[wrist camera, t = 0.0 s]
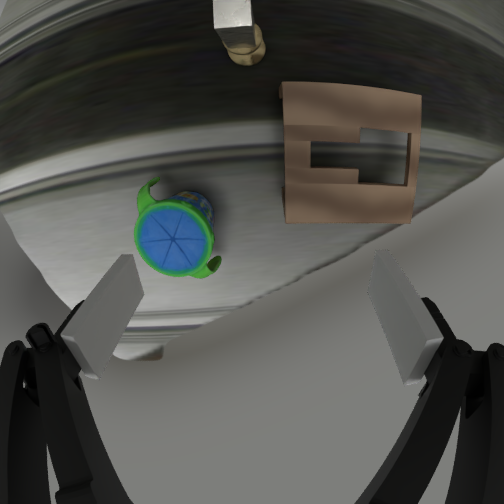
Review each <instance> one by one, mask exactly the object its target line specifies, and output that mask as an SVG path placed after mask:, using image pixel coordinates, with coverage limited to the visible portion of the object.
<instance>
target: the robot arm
mask: <svg viewBox="0 0 504 504" xmlns="http://www.w3.org/2000/svg"><path fill="white" fill-rule="evenodd" d="M368 295H369V297H370V299H371V301H372V304H373V306H374V309H375V311H376V313H377V316H378V318H379V321H380V323H381V325H382V328H383V330H384V333H385V335H386V338H387V340H388V343H389V346H390V348H391V351H392V353H393V356H394V359H395V362H396V364H397V367H398V370H399V373H400V375H401V378H402V381H403V384H404V385H410V384H415V383H419V382H420V380H421V379H422V377H423V375H424V374H425V377H426V379H427V382H426V384H425V385H424V387H423V389H422V390H421V391H420V393H419V399H418V401H417V403H416V405H415V407H414V409H413V411H412V413H411V415H410V417H409V419H408V421H407V423H406V425H405V427H404V429H403V430H402V432H401V434H400V436H399V438H398V439H397V442H396V443H395V445H394V446H393V448H392V450H391V451H390V453H389V455H388V456H387V458H386V460H385V461H384V463H383V465H382V466H381V467H380V469H379V470H378V472H377V473H376V475H375V477H374V478H373V479H372V481H371V482H370V484H369V485H368V486H367V488H366V489H365V490H364V492H363V493H362V495H361V496H360V497H359V499H358V500H357V501H356V502H355V504H418V502H419V500H420V499H421V497H422V495H423V493H424V491H425V490H426V488H427V486H428V484H429V482H430V480H431V478H432V476H433V474H434V472H435V470H436V468H437V466H438V464H439V462H440V459H441V457H442V455H443V452H444V450H445V448H446V446H447V443H448V441H449V438H450V435H451V433H452V430H453V427H454V425H455V422H456V419H457V416H458V413H459V410H460V407H461V412H460V424H459V434H458V441H457V449H456V455H455V461H454V466H453V472H452V477H451V481H450V486H449V490H448V494H447V498H446V501H445V504H504V346H503V345H502V344H499V343H493V344H491V345H490V346H489V347H488V349H487V351H474V350H473V349H472V347H471V346H470V345H469V344H468V343H467V342H465V341H463V340H459V339H456V337H455V335H454V334H453V332H452V330H451V328H450V327H449V325H448V323H447V322H446V320H445V319H444V318H443V315H442V314H441V313H440V311H439V309H438V308H437V306H436V304H435V303H434V302H432V301H431V300H430V299H429V298H427V297H425V298H420V296H419V295H418V293H417V292H416V290H415V289H414V287H413V285H412V284H411V282H410V281H409V279H408V278H407V276H406V275H405V273H404V272H403V270H402V269H401V268H400V266H399V264H398V263H397V262H396V260H395V259H394V257H393V256H392V254H391V253H390V252H389V250H376V251H375V256H374V262H373V267H372V273H371V278H370V283H369V288H368ZM143 296H144V292H143V288H142V285H141V282H140V278H139V275H138V271H137V268H136V264H135V260H134V257H133V254H126V255H121V256H120V257H119V258H118V259H117V261H116V262H115V263H114V264H113V265H112V267H111V268H110V269H109V270H108V272H107V273H106V274H105V275H104V277H103V278H102V279H101V280H100V282H99V283H98V284H97V285H96V287H95V288H94V289H93V290H92V292H91V293H90V294H89V296H88V297H87V298H86V300H82V301H81V302H80V303H78V304H77V305H76V306H75V307H74V308H73V310H72V311H71V313H70V314H69V315H68V316H67V319H66V320H65V321H64V322H63V324H62V325H61V326H60V328H59V329H58V330H57V332H56V333H55V335H53V333H52V331H51V330H50V328H49V326H48V325H47V324H46V323H39V324H36V325H34V326H32V327H31V328H30V329H29V330H28V332H27V333H26V339H27V341H28V342H29V344H30V345H31V347H32V348H26V347H25V345H24V344H23V342H22V341H20V340H17V341H14V342H11V343H10V344H9V345H8V346H7V348H6V349H5V352H4V355H3V358H2V362H1V365H0V504H51V500H50V491H49V481H48V470H47V469H48V468H47V446H48V450H49V454H50V457H51V461H52V464H53V468H54V471H55V475H56V478H57V481H58V484H59V491H57V492H56V493H55V499H56V503H57V504H133V502H132V501H131V500H130V499H129V497H128V496H127V493H126V492H125V490H124V488H123V486H122V484H121V482H120V480H119V478H118V476H117V474H116V472H115V470H114V468H113V466H112V463H111V461H110V459H109V456H108V454H107V452H106V449H105V447H104V445H103V442H102V440H101V438H100V435H99V432H98V429H97V427H96V424H95V421H94V418H93V416H92V413H91V410H90V406H89V404H88V400H87V397H86V394H85V390H84V387H83V384H82V380H81V378H80V376H79V375H78V374H79V372H80V370H81V369H82V371H83V372H84V374H85V375H86V377H89V378H93V379H97V380H100V378H101V376H102V373H103V371H104V370H105V367H106V365H107V363H108V361H109V359H110V357H111V355H112V354H113V352H114V350H115V348H116V346H117V344H118V342H119V340H120V338H121V336H122V334H123V332H124V330H125V329H126V327H127V325H128V323H129V321H130V319H131V317H132V316H133V314H134V312H135V310H136V308H137V307H138V305H139V303H140V301H141V299H142V298H143ZM23 382H24V383H25V388H23Z"/></svg>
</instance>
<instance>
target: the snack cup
mask: <svg viewBox="0 0 504 504" xmlns="http://www.w3.org/2000/svg"><path fill="white" fill-rule="evenodd" d="M159 180H160V177H156V178H153V179H152V180H150V181H149V182H148V183H147V184H146V185H145V186H143V187H142V188H141V189H140V191H139V193H138V197H137V205H138V211H139V217H138V219H137V222H136V224H135V228H134V239H135V244H136V247H137V250H138V252H139V254H140V255H141V257H142V259H143V260H144V261H145V262H146V263H147V264H148V265H149V266H150V267H152V268H153V269H154V270H156V271H158V272H160V273H162V274H165V275H168V276H173V277H184V276H189V275H190V276H192V277H195V278H205V277H207V276H209V275H210V274H213V273H214V272H215V271H216V270H217V269H218V268H219V266H220V264H221V260H222V259H221V256H215V257H214V258H212V259H211V260H210V261H209V262H208V264H207V261H208V260H209V258H210V256H211V253H212V249H213V244H214V241H215V238H214V233H213V225H214V211H213V209H212V206H211V204H210V202H209V201H208V200H207V199H206V198H204V197H203V196H202V195H201V194H199V193H198V192H191V191H185V192H180V193H178V194H176V195H174V196H172V197H170V198H168V199H164V200H160V201H158V200H155V199H154V198H153V197H152V196H151V195H150V187H151V186H153V185H154V184H156V183H157V182H158V181H159Z"/></svg>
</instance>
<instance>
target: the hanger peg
mask: <svg viewBox="0 0 504 504" xmlns="http://www.w3.org/2000/svg"><path fill="white" fill-rule="evenodd" d="M213 12H214V29H215V31H216V32H217V33H218V35H219V36H220V37H221V39H222V42H223V44H224V46H225V47H226V48H227V50H228V54H229V56H230V58H231V59H232V60H233V61H234V62H235V63H236V64H238V65H242V66H252V65H255V64H257V63H258V62H260V61H261V60H262V59H263V57H264V55H265V44H264V42H263V40H262V33H261V30H260V28H259V27H258V26H257V25H256V24H255V22H254V16H253V11H252V5H251V0H213Z"/></svg>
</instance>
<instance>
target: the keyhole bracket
mask: <svg viewBox="0 0 504 504" xmlns="http://www.w3.org/2000/svg"><path fill="white" fill-rule="evenodd" d="M279 99H283V125H284V162H285V187H282V201H283V208H284V215H285V223H286V224H291V223H403V224H410V223H411V218H412V211H413V205H414V198H415V191H416V183H417V174H418V163H419V151H420V135H421V95H416V94H411V93H406V92H400V91H395V90H388V89H382V88H375V87H367V86H358V85H348V84H336V83H320V82H282V83H281V85H280V87H279ZM360 128H371V129H381V130H390V131H398V132H406V133H408V141H407V157H406V169H405V179H404V184H388V183H367V182H358V173H359V169H358V168H356V167H325V166H310V141H328V142H350V143H360Z"/></svg>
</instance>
